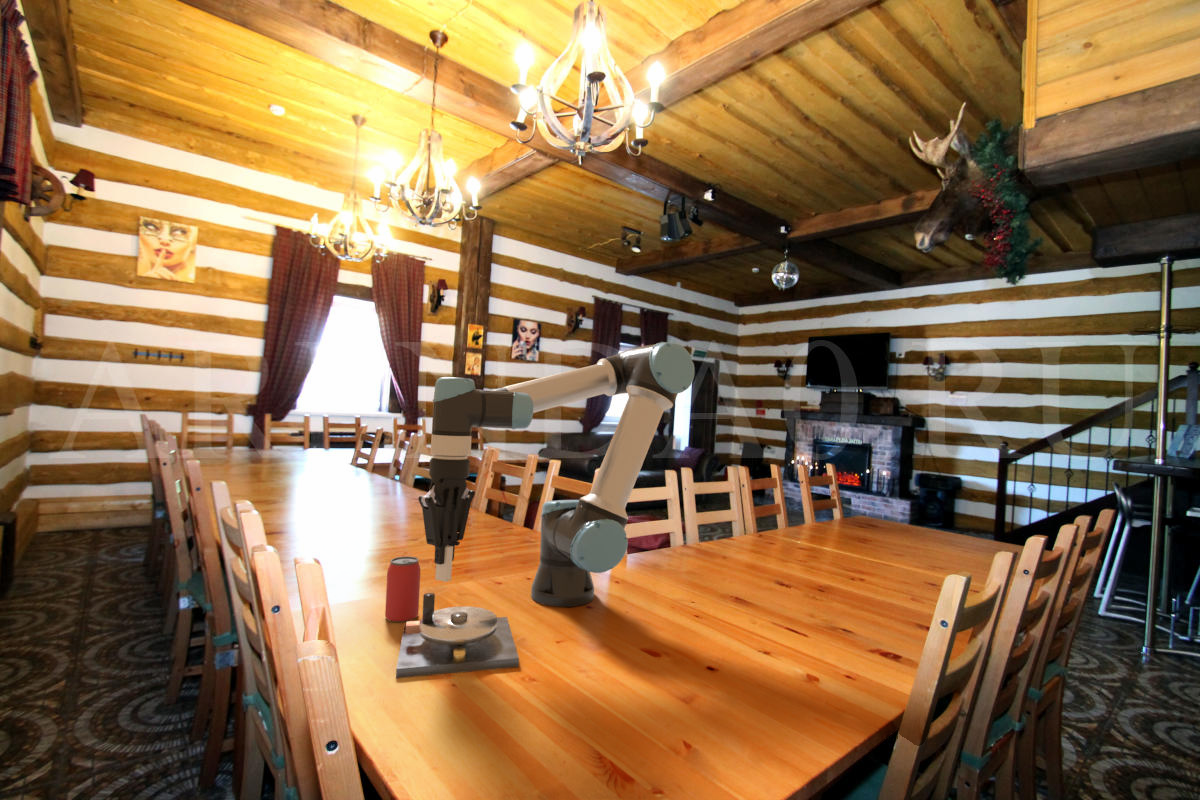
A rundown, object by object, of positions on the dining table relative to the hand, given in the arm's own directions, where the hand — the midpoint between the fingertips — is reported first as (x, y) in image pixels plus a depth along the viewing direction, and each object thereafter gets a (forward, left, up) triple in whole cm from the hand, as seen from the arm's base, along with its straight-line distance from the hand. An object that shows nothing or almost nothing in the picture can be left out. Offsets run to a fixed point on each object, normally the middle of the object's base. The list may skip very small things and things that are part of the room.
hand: (443, 579), depth 104 cm
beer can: (+8, -12, -12) cm, 19 cm away
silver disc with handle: (-2, +5, -8) cm, 9 cm away
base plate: (-3, +5, -11) cm, 13 cm away
